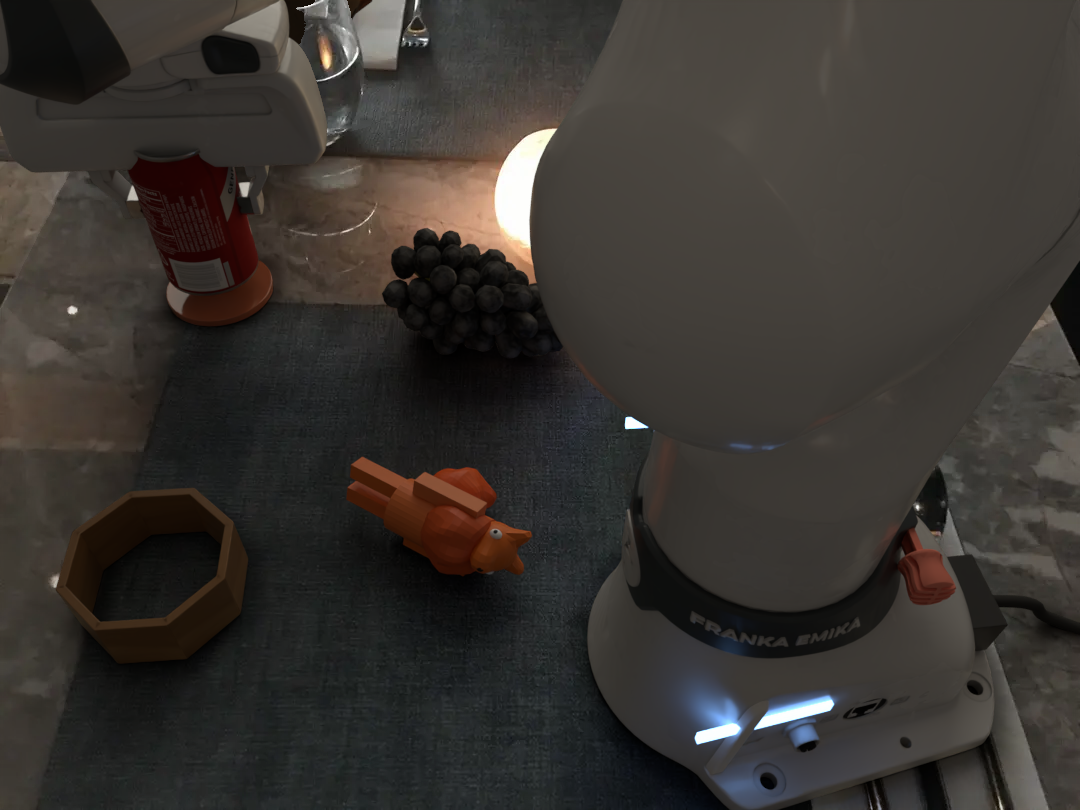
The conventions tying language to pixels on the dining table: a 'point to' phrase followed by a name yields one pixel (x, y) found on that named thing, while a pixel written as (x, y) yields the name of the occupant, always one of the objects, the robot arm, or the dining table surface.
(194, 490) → the can holder
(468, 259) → the fruit
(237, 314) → the coaster
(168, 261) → the soda can
